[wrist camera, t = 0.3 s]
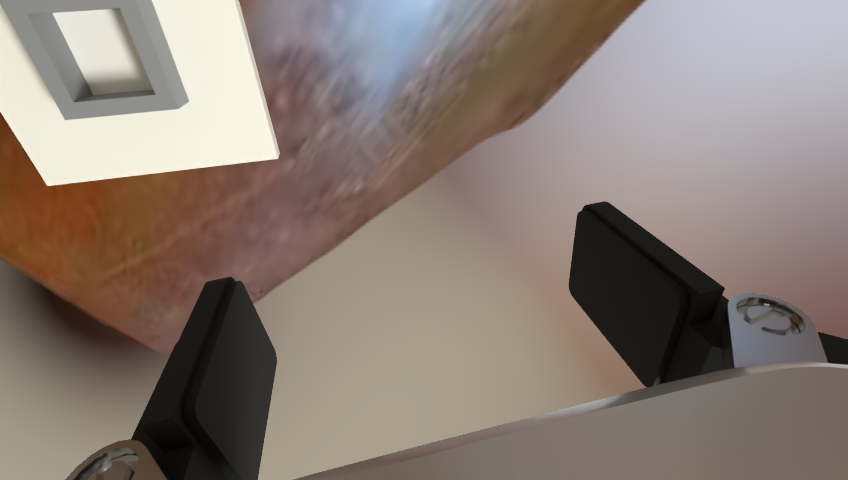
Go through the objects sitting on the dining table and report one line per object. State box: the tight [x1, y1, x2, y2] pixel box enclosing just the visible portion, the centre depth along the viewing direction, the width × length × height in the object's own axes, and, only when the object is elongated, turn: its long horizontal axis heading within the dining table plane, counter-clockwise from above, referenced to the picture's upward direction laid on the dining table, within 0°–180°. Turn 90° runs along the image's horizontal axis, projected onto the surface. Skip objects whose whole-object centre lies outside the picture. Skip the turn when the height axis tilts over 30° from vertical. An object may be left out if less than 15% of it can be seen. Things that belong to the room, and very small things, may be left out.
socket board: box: [0, 0, 280, 186], centre depth 30 cm, size 20×20×4 cm
